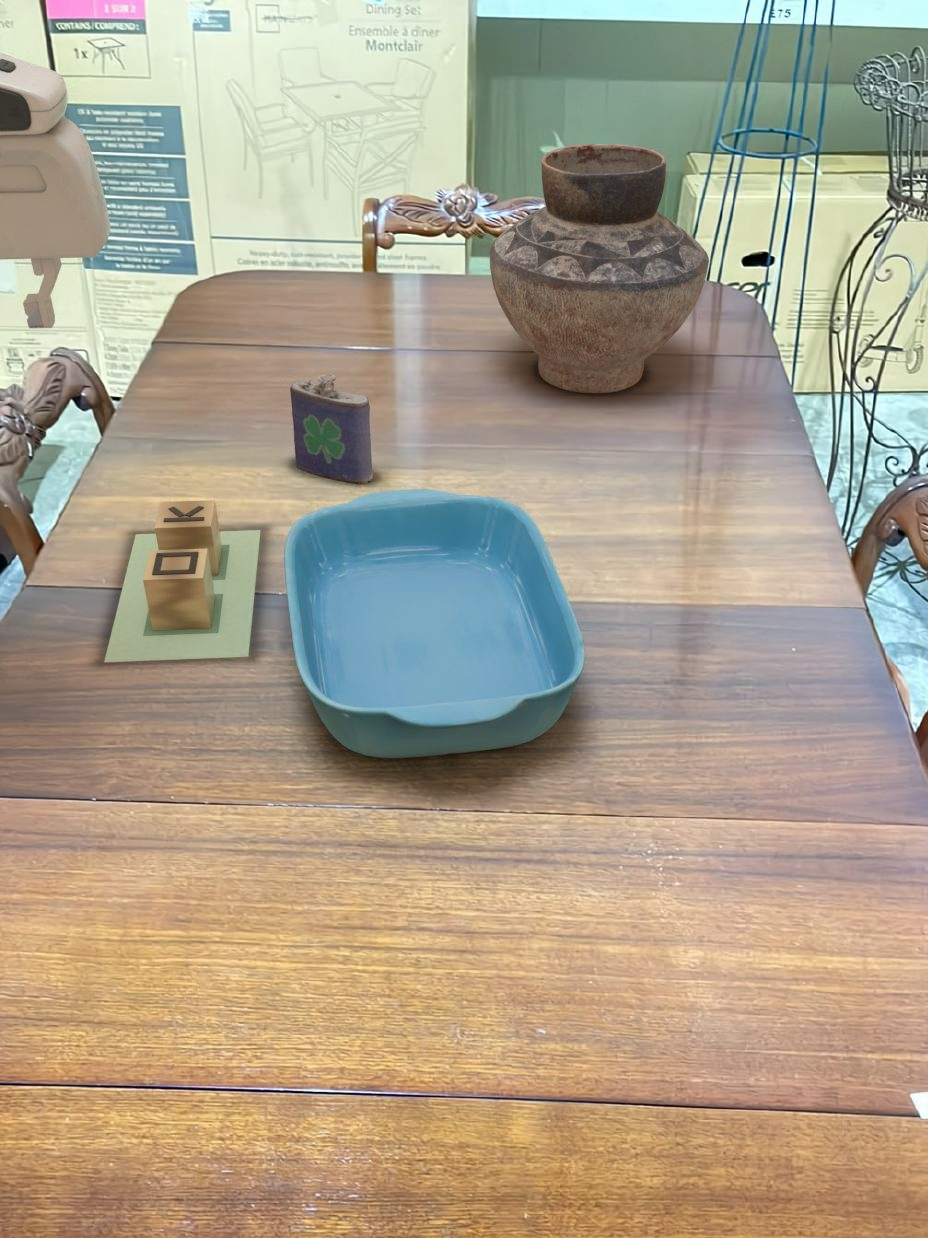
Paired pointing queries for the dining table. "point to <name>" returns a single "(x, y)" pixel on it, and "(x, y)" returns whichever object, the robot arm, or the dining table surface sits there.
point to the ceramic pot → (597, 268)
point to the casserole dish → (429, 623)
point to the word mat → (219, 641)
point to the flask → (331, 431)
